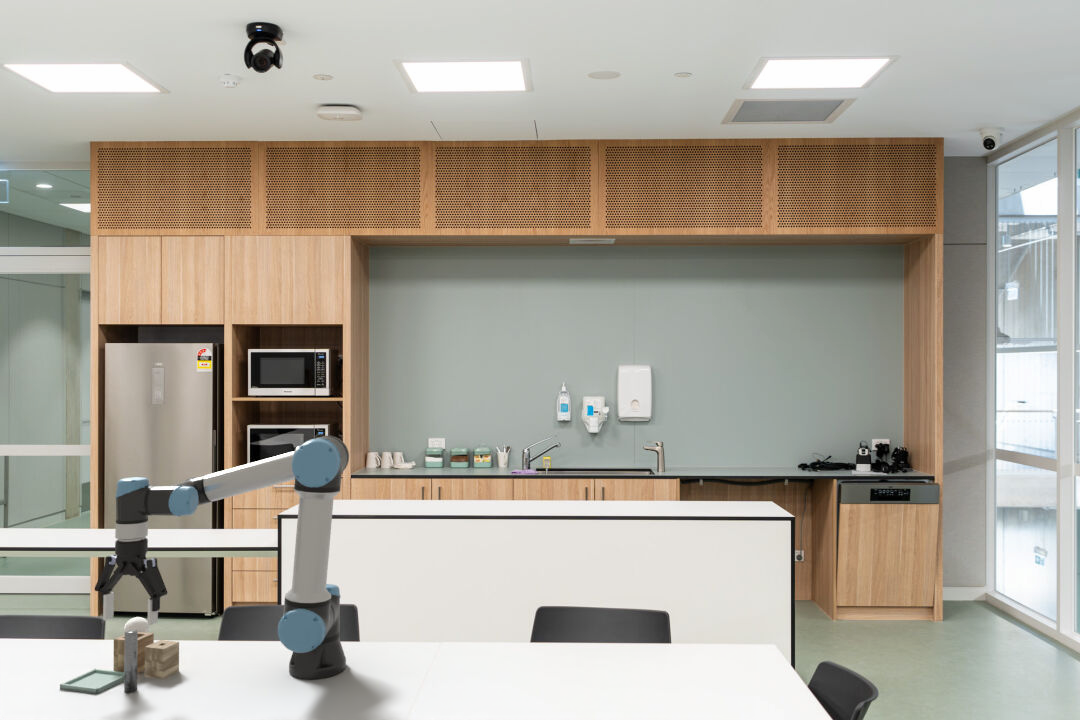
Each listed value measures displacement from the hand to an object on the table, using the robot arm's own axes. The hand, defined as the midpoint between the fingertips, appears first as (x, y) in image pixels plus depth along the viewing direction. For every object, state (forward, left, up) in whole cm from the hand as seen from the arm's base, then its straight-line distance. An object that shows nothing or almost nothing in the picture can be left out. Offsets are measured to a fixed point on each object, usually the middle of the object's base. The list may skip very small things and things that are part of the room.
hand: (130, 621), depth 212 cm
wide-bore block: (+10, -13, -18) cm, 24 cm away
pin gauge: (0, 0, -18) cm, 18 cm away
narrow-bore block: (0, -12, -18) cm, 21 cm away
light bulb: (+17, -22, -18) cm, 33 cm away
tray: (+12, -2, -18) cm, 22 cm away
